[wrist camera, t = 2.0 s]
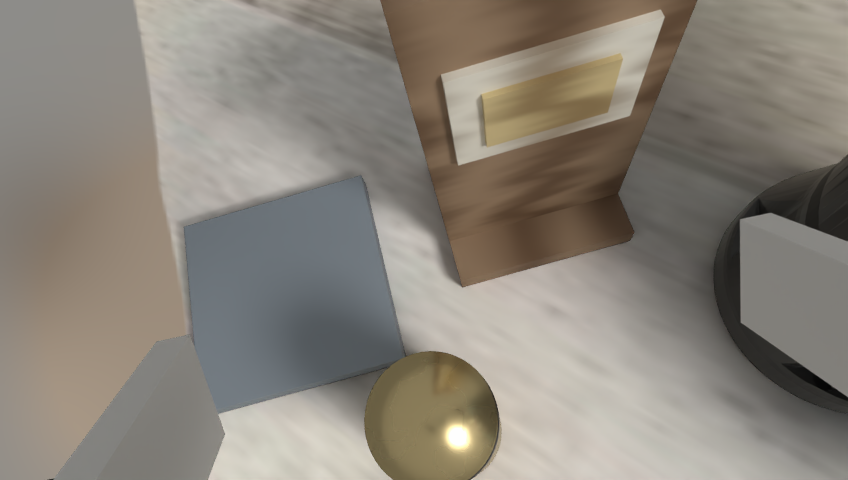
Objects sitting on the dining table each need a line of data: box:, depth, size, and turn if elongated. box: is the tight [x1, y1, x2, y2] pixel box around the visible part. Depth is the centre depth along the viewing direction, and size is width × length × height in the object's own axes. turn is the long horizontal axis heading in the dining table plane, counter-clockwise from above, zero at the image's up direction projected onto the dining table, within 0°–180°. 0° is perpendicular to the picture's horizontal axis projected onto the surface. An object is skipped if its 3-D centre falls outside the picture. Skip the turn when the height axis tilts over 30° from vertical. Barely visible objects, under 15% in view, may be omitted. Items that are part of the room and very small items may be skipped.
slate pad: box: [184, 176, 406, 414], centre depth 41 cm, size 14×14×2 cm
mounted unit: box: [381, 0, 697, 287], centre depth 30 cm, size 12×10×24 cm
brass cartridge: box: [364, 351, 501, 480], centre depth 31 cm, size 6×6×12 cm
